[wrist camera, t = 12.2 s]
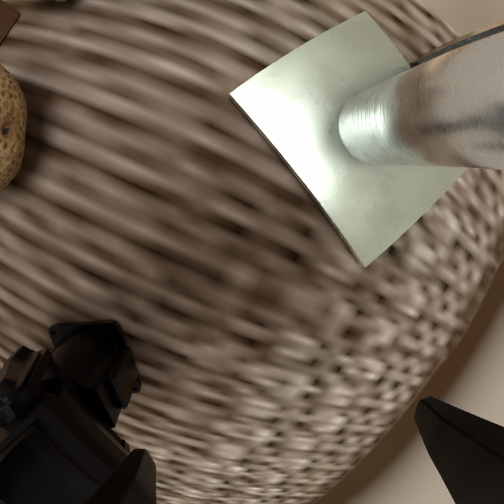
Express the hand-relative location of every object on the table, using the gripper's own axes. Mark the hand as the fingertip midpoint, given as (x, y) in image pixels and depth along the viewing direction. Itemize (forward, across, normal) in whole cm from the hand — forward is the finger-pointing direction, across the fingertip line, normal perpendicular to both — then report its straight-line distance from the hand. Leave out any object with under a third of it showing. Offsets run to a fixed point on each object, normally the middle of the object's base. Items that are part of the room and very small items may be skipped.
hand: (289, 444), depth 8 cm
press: (+13, -12, -9) cm, 20 cm away
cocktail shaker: (+12, -9, -10) cm, 18 cm away
